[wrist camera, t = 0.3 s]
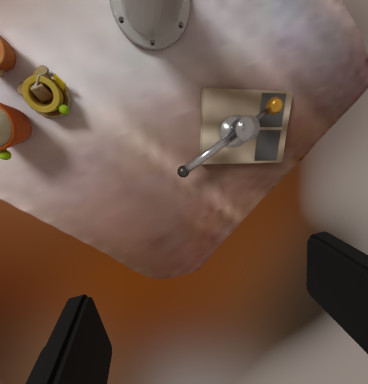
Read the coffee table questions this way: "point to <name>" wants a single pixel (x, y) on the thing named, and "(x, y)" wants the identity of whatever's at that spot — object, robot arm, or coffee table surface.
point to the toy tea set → (29, 101)
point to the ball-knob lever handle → (234, 134)
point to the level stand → (244, 105)
